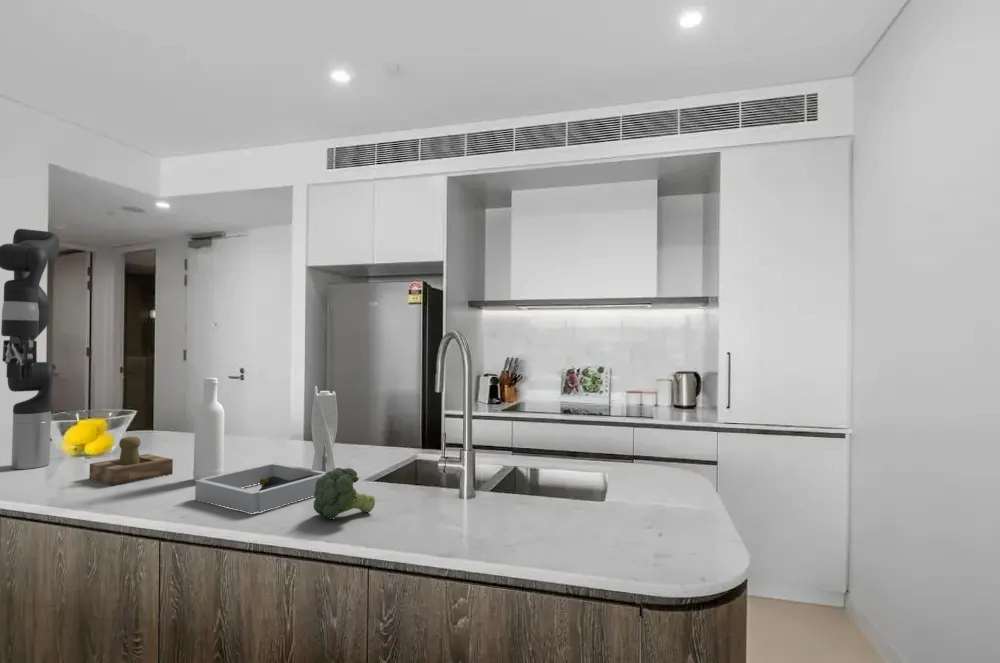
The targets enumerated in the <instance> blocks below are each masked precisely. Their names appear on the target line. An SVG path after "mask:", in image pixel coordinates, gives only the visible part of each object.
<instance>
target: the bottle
mask: <svg viewBox="0 0 1000 663" xmlns="http://www.w3.org/2000/svg"><path fill="white" fill-rule="evenodd" d="M218 380H219V379H218V377H205V378H203V382H202V384H203V398H202V400H203V401H202V402H201V403H200V404H198V406H197V409H196V411H195V414H194V438H193V439H194V443H193V470H192V471H193V472H192V473H193V474H192V476H193V482H195V483H196V480H200V479H202V478H206V477H211V476H215V475H220V474H224V473H225V472H224V468H225V467H224V455H225V454H224V453H225V452H224V449H225V448H224V447H225V410H224V407H223V405H222V404H221V403H220V402H219V401H218V385H219V381H218Z"/></svg>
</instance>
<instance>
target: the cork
mask: <svg viewBox="0 0 1000 663" xmlns="http://www.w3.org/2000/svg"><path fill="white" fill-rule="evenodd" d="M118 444H119V448H120V449H121V450H120V455H119V459H120V460H119V465H122V466H127V465H132V464H138V463H140V459H139V455H140V452H139V447H140V445H141V439H140V438H139V437H137V436H126V437H123V438H121V439H120V441H119V443H118Z"/></svg>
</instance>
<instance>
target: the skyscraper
mask: <svg viewBox="0 0 1000 663" xmlns="http://www.w3.org/2000/svg"><path fill="white" fill-rule="evenodd" d="M313 395H314V396H313V402H312V409H311V421H310V422H311V424H310V427H311V438H312V444H313V449H314V453H313V454H314V455H313V459H312V466H311V469H312V470H317V471H323V472H329V471H333V470H334V469H336V465H335V463H336V462H335V458H334V452H333V451H334V450H333V448H334V446H335V442H336V436H337V431H338V419H339V416H338V414H339V413H338V403H337V396H336V395H337V393H336V392H335V391H334V390H332V392H331V391H329V390H320V391H319V393H318V387H317V385H315V386H314V394H313Z"/></svg>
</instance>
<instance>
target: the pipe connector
mask: <svg viewBox="0 0 1000 663" xmlns="http://www.w3.org/2000/svg"><path fill="white" fill-rule="evenodd" d="M309 477H313V475H308V476H305V477H301V478H297V479H293V480H286V479H282V478H280V477H276V476H269V477H267V478H263V479H260V485H261V488H259V489H258V491H261V490H265V489H268V488H272V487H276V486H280V485H283V484H287V483H291V482H294V481H298V480H302V479H306V478H309Z"/></svg>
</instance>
